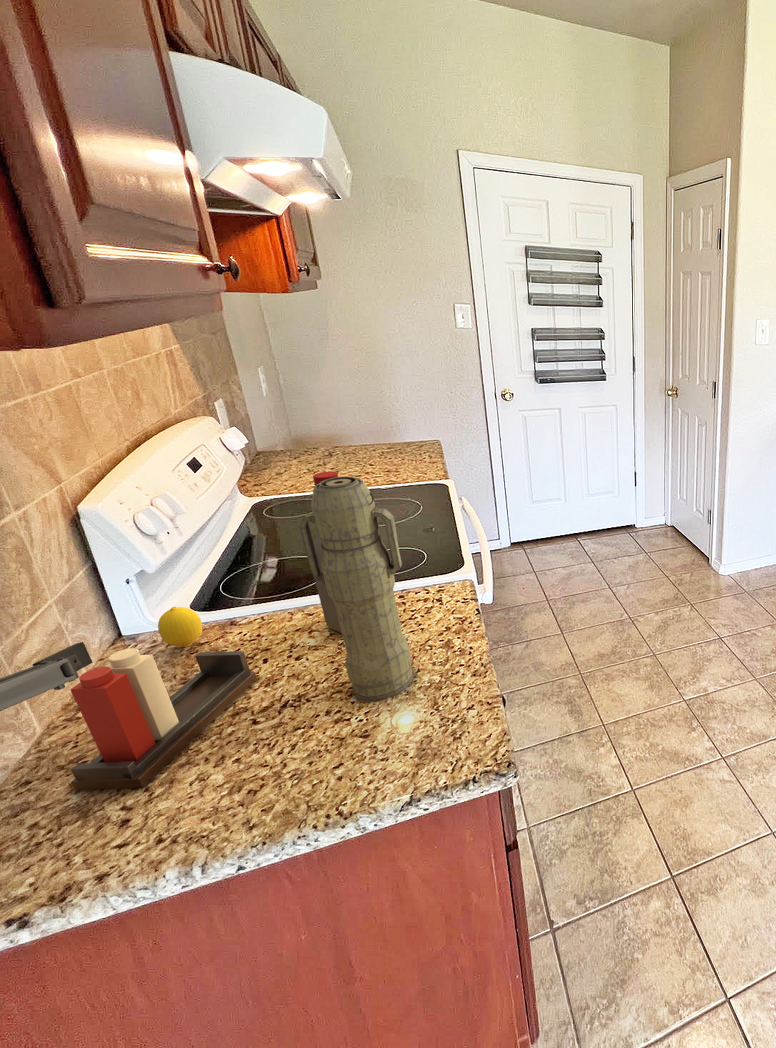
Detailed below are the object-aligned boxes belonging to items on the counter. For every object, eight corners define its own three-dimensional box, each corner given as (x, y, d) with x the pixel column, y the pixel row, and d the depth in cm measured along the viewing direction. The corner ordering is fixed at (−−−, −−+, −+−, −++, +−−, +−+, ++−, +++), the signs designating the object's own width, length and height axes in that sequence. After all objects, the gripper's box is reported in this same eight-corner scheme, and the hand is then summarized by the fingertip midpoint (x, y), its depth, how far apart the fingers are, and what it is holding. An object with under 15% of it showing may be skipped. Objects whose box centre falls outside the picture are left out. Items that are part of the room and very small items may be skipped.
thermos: (423, 689, 92) (383, 486, 80) (338, 708, 88) (281, 496, 75) (425, 659, 100) (388, 468, 87) (346, 675, 95) (296, 476, 83)
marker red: (104, 764, 75) (65, 681, 70) (125, 746, 77) (88, 666, 73) (137, 762, 75) (101, 680, 70) (156, 745, 78) (123, 665, 73)
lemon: (167, 644, 102) (152, 605, 99) (208, 634, 105) (194, 596, 102) (165, 659, 98) (150, 619, 95) (208, 648, 101) (194, 609, 98)
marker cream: (131, 741, 78) (96, 661, 74) (150, 725, 81) (117, 647, 76) (163, 740, 79) (129, 660, 74) (180, 724, 81) (149, 647, 77)
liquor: (397, 616, 112) (367, 471, 102) (351, 639, 105) (314, 486, 94) (367, 605, 116) (335, 464, 105) (321, 626, 108) (281, 477, 98)
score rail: (74, 790, 73) (58, 757, 71) (205, 680, 93) (195, 652, 91) (142, 787, 73) (127, 754, 71) (257, 678, 94) (248, 650, 92)
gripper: (-425, 892, 42) (-128, 748, 61) (19, 753, 50) (156, 664, 69) (-489, 805, 40) (-164, 685, 60) (-22, 676, 48) (130, 608, 68)
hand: (8, 674), depth 65 cm, fingers open, 13 cm apart
